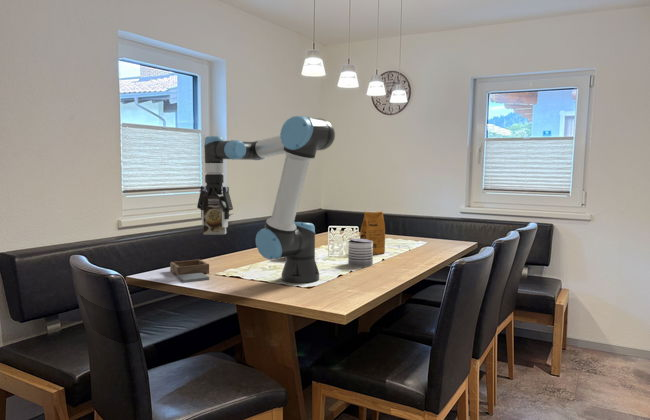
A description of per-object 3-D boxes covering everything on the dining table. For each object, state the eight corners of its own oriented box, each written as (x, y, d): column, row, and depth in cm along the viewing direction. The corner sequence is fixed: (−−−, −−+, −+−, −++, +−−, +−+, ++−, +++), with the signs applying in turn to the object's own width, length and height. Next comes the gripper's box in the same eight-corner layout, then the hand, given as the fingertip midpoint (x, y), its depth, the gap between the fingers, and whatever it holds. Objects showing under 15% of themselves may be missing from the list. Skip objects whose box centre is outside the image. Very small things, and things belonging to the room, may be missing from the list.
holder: (209, 273, 205) (209, 264, 205) (178, 277, 198) (177, 267, 198) (200, 268, 216) (199, 259, 216) (170, 271, 209) (170, 262, 209)
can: (348, 262, 231) (348, 237, 230) (372, 262, 231) (372, 237, 230) (348, 266, 220) (348, 240, 219) (373, 267, 219) (373, 240, 218)
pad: (209, 279, 194) (209, 277, 194) (184, 282, 189) (183, 280, 189) (201, 274, 202) (201, 272, 202) (177, 277, 197) (177, 275, 197)
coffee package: (357, 252, 259) (358, 211, 257) (379, 251, 262) (379, 210, 260) (364, 255, 249) (364, 212, 247) (386, 254, 253) (387, 212, 251)
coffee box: (203, 234, 201) (202, 196, 200) (205, 232, 207) (204, 195, 206) (225, 234, 202) (224, 196, 200) (227, 232, 208) (226, 195, 207)
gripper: (241, 173, 200) (242, 227, 202) (200, 173, 212) (201, 223, 213) (229, 174, 193) (229, 229, 195) (187, 173, 205) (188, 225, 207)
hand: (215, 226), depth 204 cm, fingers closed on coffee box, 11 cm apart
